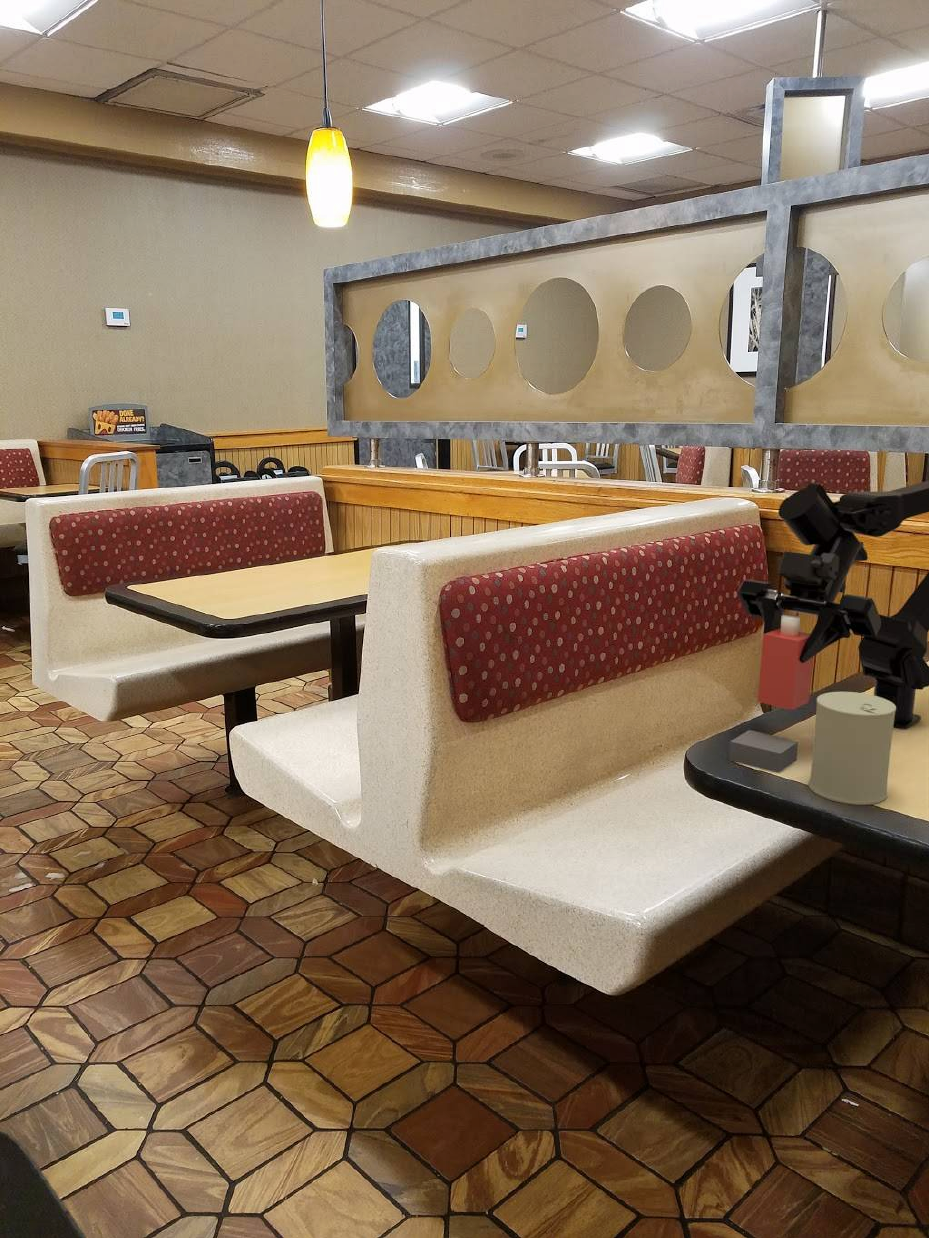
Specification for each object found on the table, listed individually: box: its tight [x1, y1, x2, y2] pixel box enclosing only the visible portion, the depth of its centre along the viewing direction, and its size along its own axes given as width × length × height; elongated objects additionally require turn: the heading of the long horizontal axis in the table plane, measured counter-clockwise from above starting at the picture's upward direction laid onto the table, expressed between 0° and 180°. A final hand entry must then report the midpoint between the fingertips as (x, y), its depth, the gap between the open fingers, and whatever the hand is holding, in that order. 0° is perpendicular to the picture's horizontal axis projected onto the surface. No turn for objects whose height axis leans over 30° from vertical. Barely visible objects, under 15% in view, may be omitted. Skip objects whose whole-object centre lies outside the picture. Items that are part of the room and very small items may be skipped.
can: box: [808, 691, 896, 806], centre depth 120 cm, size 9×9×12 cm
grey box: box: [728, 729, 799, 774], centre depth 131 cm, size 6×7×3 cm
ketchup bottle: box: [757, 613, 814, 711], centre depth 131 cm, size 5×5×12 cm
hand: (782, 657), depth 130 cm, fingers closed on ketchup bottle, 5 cm apart
